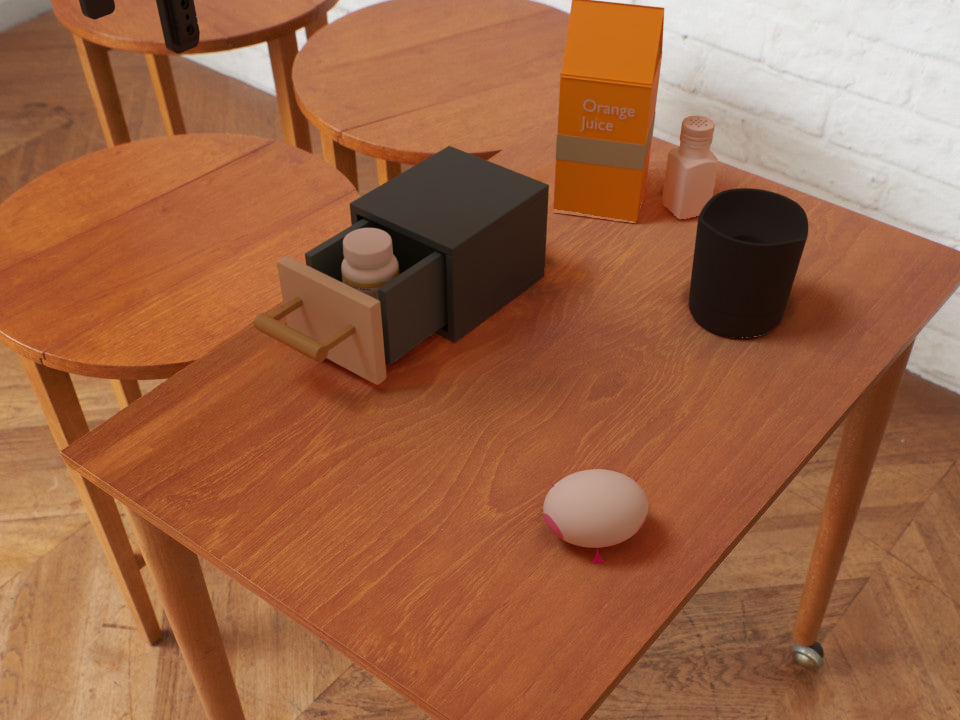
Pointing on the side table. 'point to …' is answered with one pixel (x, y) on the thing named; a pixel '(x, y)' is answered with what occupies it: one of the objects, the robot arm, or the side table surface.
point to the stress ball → (595, 508)
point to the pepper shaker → (691, 169)
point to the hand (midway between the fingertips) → (141, 31)
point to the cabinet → (468, 229)
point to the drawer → (359, 306)
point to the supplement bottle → (368, 260)
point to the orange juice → (607, 107)
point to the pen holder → (745, 261)
